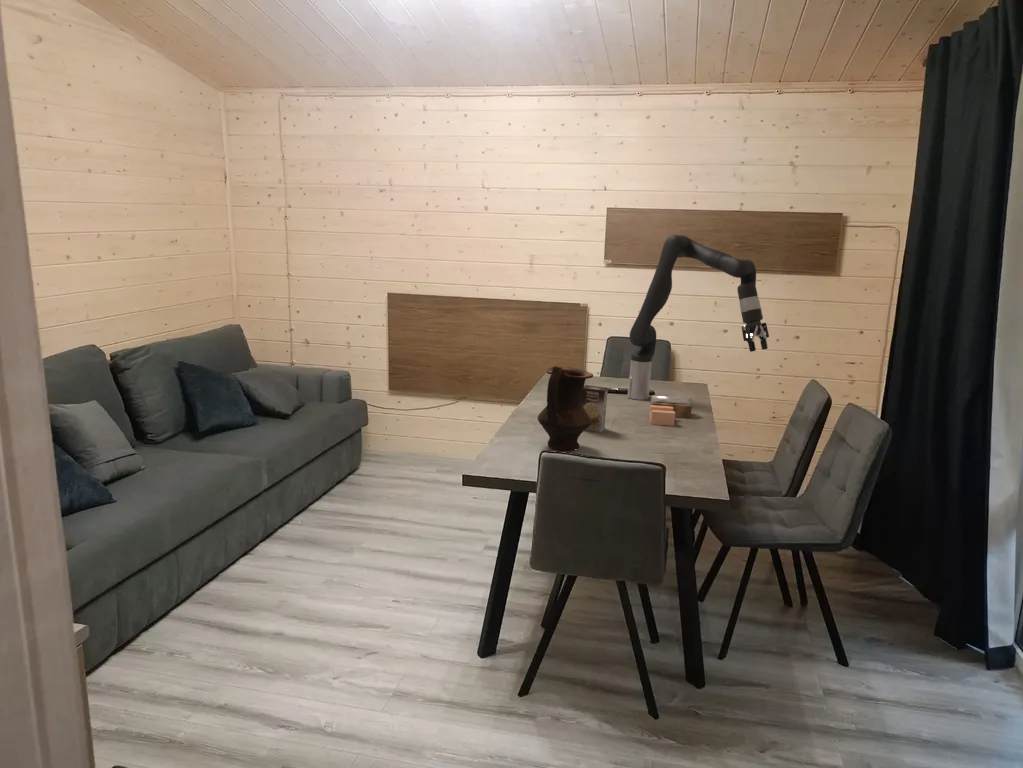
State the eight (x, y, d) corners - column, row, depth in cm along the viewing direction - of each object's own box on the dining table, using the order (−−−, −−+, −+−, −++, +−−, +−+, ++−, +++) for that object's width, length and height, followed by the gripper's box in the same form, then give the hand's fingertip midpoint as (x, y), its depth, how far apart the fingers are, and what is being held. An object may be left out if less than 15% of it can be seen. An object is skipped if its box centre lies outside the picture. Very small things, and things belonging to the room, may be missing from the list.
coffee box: (577, 429, 274) (580, 387, 271) (581, 425, 280) (584, 384, 276) (601, 432, 271) (604, 390, 268) (605, 428, 277) (608, 387, 274)
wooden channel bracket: (651, 415, 300) (652, 403, 298) (649, 409, 308) (650, 398, 307) (690, 418, 298) (691, 406, 297) (688, 412, 306) (689, 401, 305)
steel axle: (651, 405, 301) (652, 396, 300) (651, 403, 305) (651, 394, 304) (690, 408, 299) (691, 399, 299) (689, 406, 303) (690, 396, 302)
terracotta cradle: (650, 423, 286) (651, 411, 285) (649, 416, 297) (650, 405, 296) (674, 425, 285) (675, 413, 284) (671, 418, 296) (672, 406, 295)
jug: (551, 435, 264) (556, 354, 257) (598, 445, 255) (604, 361, 249) (522, 449, 246) (527, 362, 239) (572, 460, 237) (578, 370, 231)
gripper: (752, 310, 291) (760, 350, 291) (732, 312, 282) (740, 353, 282) (769, 306, 285) (777, 347, 285) (749, 308, 276) (757, 350, 276)
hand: (759, 350), depth 283 cm, fingers open, 8 cm apart
